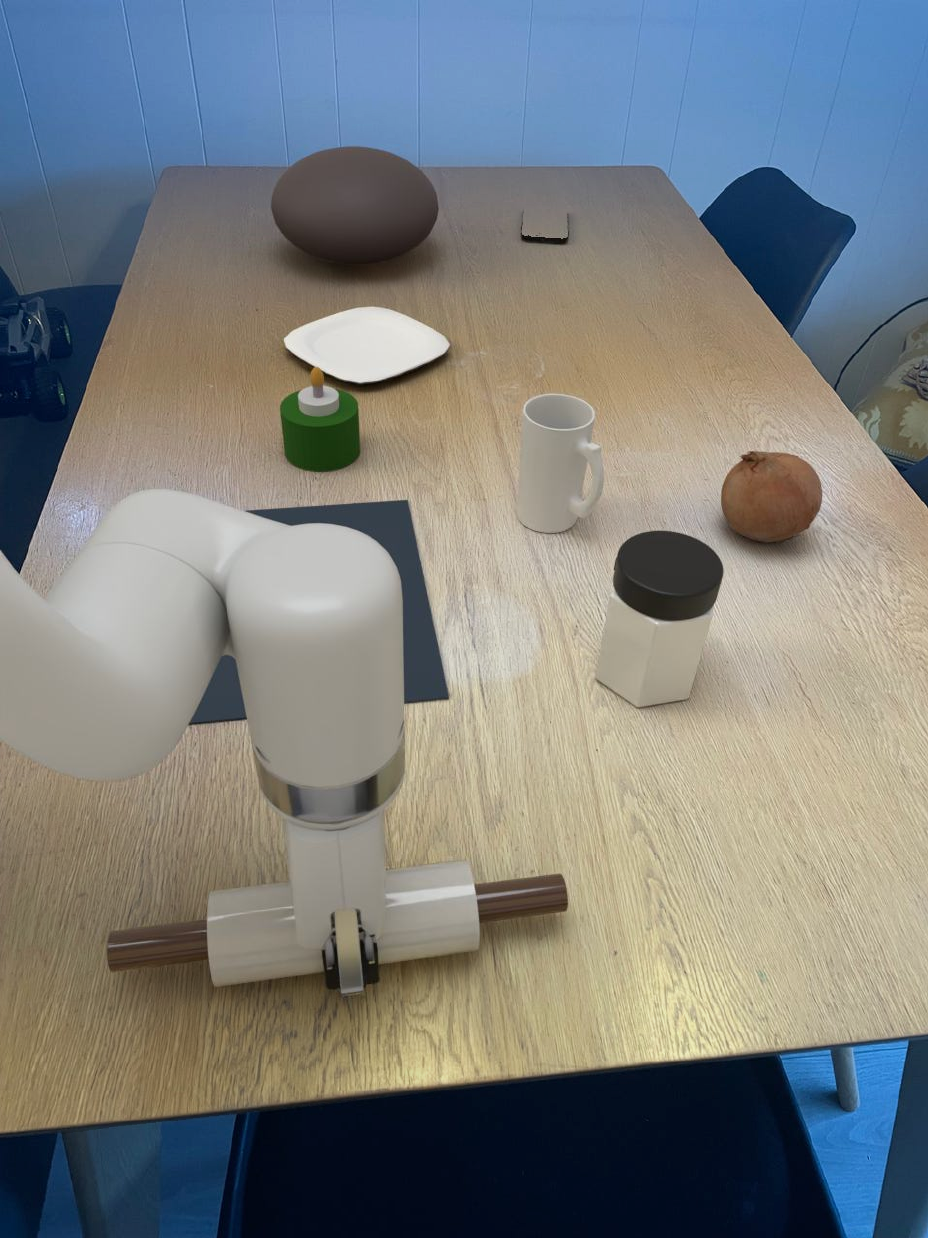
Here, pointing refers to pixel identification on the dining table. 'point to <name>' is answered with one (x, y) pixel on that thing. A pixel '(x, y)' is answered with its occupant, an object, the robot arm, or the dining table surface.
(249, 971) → the rolling pin
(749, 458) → the onion
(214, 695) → the baking mat
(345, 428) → the candle
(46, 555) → the dining table surface
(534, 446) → the mug
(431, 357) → the plate
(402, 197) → the smooth stone
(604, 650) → the jar
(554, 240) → the smartphone
